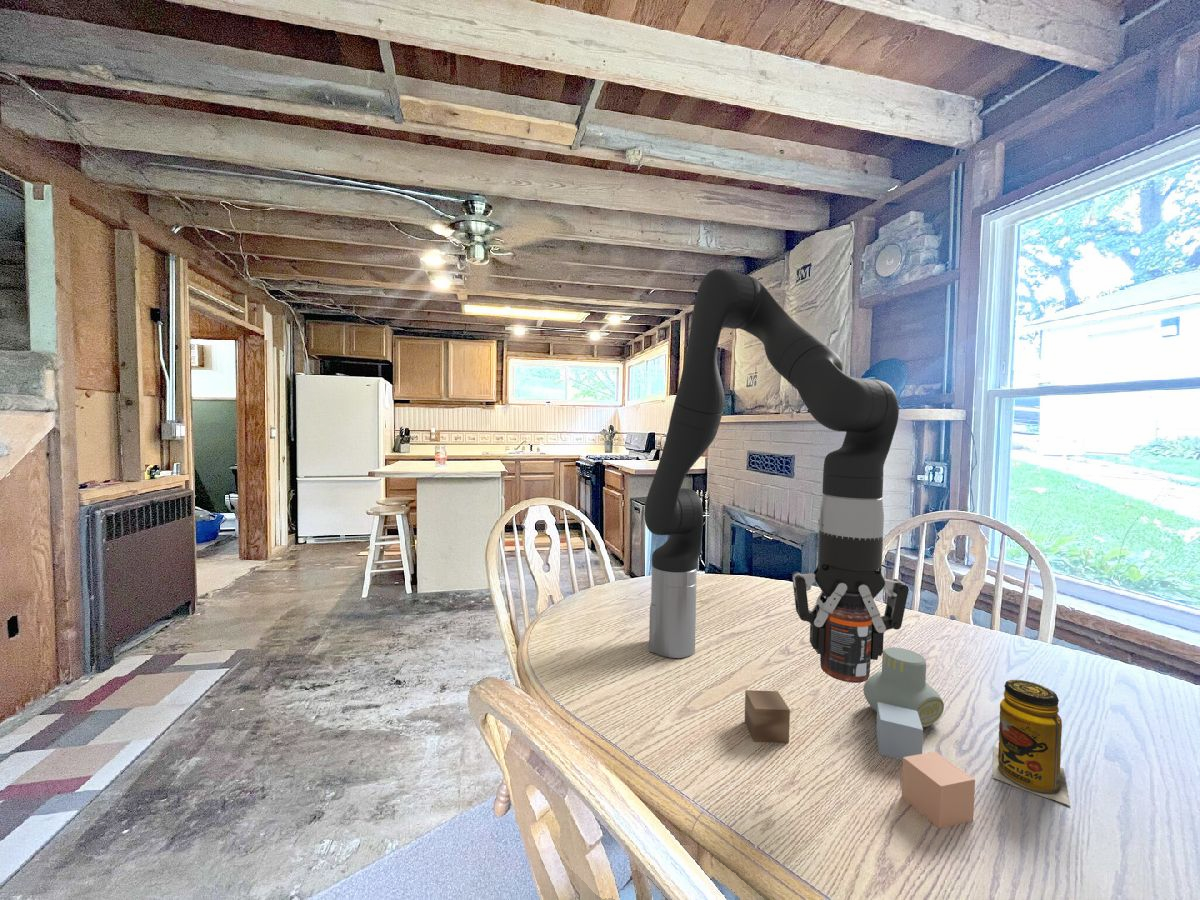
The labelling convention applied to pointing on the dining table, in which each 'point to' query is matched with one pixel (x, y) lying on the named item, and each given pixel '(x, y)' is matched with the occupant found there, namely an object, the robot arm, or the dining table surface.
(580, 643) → the dining table surface
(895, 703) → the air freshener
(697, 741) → the dining table surface
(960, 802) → the terracotta block
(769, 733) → the walnut block
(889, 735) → the slate block
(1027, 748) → the condiment
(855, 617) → the supplement bottle
